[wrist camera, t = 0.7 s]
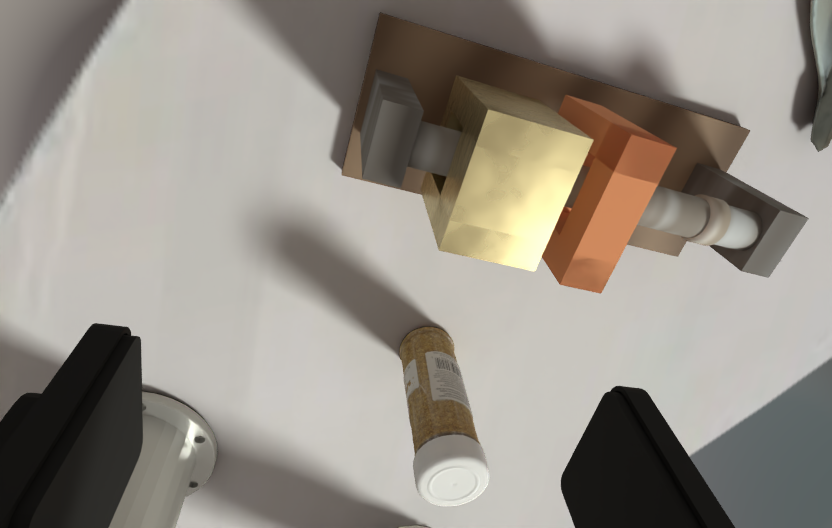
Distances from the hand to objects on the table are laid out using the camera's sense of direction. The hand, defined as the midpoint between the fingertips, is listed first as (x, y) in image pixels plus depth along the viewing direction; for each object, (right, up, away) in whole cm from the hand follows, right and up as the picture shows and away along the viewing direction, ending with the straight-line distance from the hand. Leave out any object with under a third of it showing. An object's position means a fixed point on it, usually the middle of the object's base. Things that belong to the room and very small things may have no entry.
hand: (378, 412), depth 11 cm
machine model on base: (+10, +11, +26) cm, 30 cm away
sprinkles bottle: (+2, -4, +34) cm, 34 cm away
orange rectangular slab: (+10, +9, +23) cm, 26 cm away
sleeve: (+4, +10, +21) cm, 23 cm away
